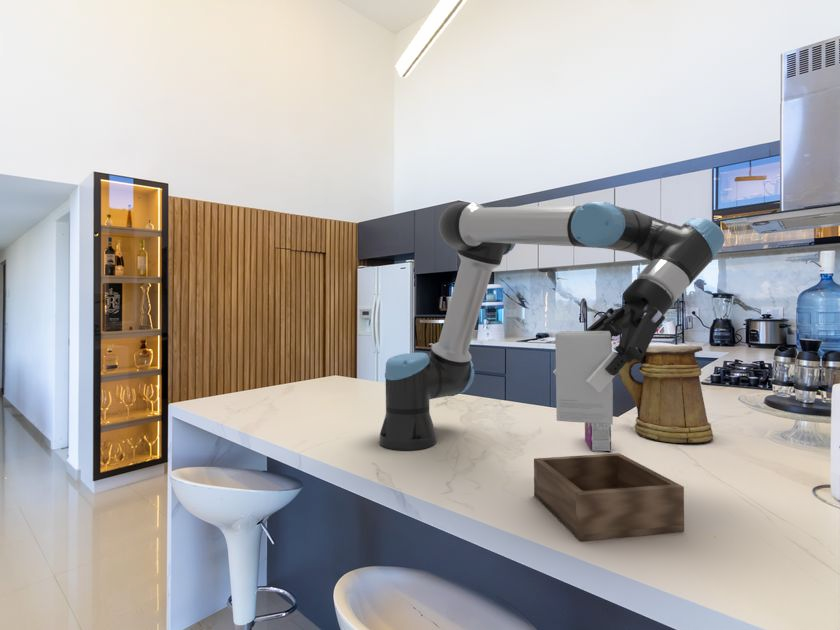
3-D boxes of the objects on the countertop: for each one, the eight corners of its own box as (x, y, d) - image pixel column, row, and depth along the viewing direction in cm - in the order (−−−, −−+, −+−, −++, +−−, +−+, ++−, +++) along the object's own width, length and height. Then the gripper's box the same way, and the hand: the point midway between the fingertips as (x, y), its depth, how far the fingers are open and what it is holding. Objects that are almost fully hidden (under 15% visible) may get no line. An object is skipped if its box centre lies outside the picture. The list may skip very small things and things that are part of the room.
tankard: (714, 449, 114) (713, 348, 113) (612, 436, 126) (611, 345, 126) (712, 432, 129) (711, 343, 129) (621, 422, 141) (621, 341, 141)
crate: (580, 541, 69) (579, 494, 69) (534, 495, 86) (533, 458, 86) (684, 531, 72) (683, 486, 72) (619, 489, 89) (619, 453, 89)
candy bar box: (583, 439, 124) (582, 378, 124) (603, 440, 123) (602, 378, 123) (590, 451, 113) (589, 385, 113) (611, 452, 112) (611, 385, 112)
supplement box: (614, 425, 74) (611, 332, 74) (555, 422, 77) (553, 332, 77) (612, 413, 82) (610, 329, 82) (560, 411, 85) (558, 330, 85)
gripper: (721, 304, 70) (630, 410, 68) (628, 307, 94) (558, 386, 91) (689, 269, 69) (596, 375, 67) (603, 281, 93) (532, 360, 91)
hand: (574, 381), depth 79 cm, fingers closed on supplement box, 12 cm apart
